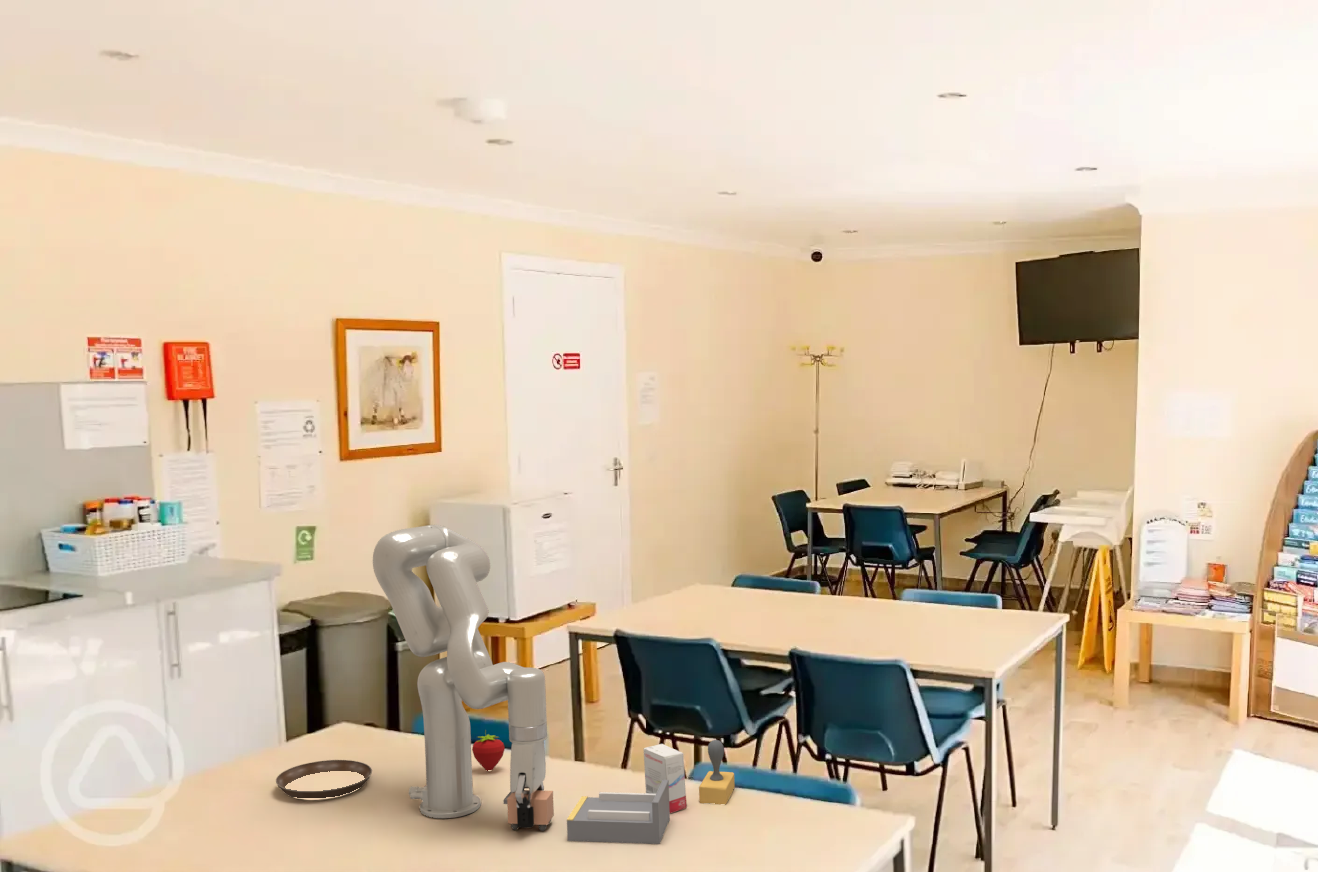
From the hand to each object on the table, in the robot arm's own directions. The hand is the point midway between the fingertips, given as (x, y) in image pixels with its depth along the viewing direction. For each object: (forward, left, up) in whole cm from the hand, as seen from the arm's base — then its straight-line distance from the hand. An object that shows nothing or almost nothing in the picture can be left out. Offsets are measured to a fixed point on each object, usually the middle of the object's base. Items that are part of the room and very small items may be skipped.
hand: (531, 818), depth 226 cm
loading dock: (+18, 0, -2) cm, 18 cm away
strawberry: (-19, +32, -2) cm, 37 cm away
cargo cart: (0, 0, -2) cm, 2 cm away
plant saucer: (-53, +19, -2) cm, 56 cm away
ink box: (+25, +14, -2) cm, 28 cm away
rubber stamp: (+35, +21, -2) cm, 41 cm away
